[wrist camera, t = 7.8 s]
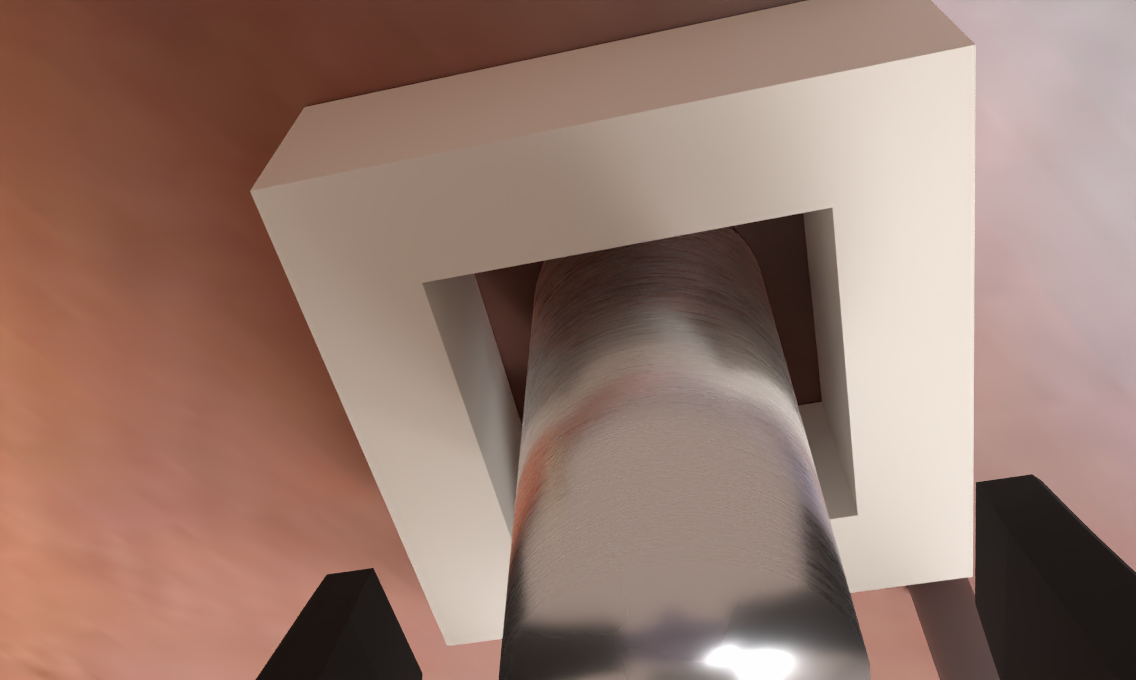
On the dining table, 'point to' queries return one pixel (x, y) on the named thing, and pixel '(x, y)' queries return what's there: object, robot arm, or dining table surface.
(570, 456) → the peg
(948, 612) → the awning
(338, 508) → the dining table surface
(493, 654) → the dining table surface
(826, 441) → the socket block
